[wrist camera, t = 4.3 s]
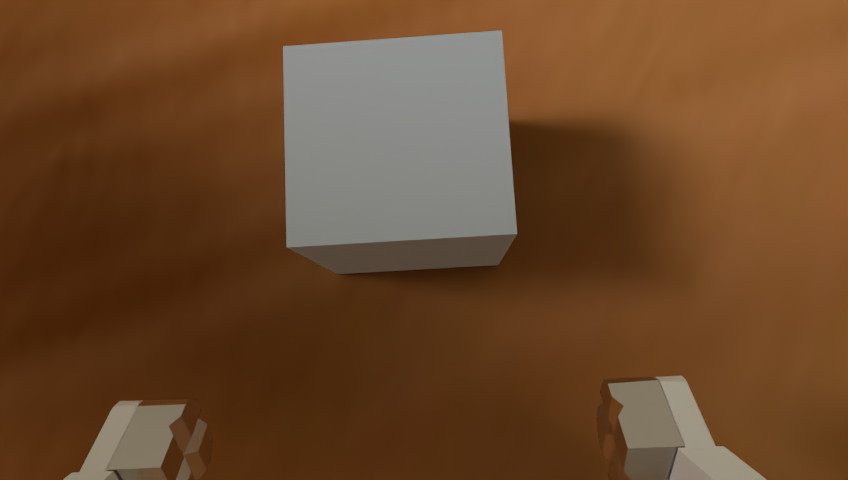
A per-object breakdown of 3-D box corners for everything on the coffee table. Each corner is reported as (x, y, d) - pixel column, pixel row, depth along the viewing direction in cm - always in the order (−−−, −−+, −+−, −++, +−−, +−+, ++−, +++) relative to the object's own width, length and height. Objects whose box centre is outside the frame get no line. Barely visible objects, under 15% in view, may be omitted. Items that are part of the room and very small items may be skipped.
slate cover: (337, 274, 23) (286, 247, 16) (332, 130, 24) (282, 46, 17) (498, 264, 23) (517, 233, 16) (488, 119, 24) (501, 30, 17)
